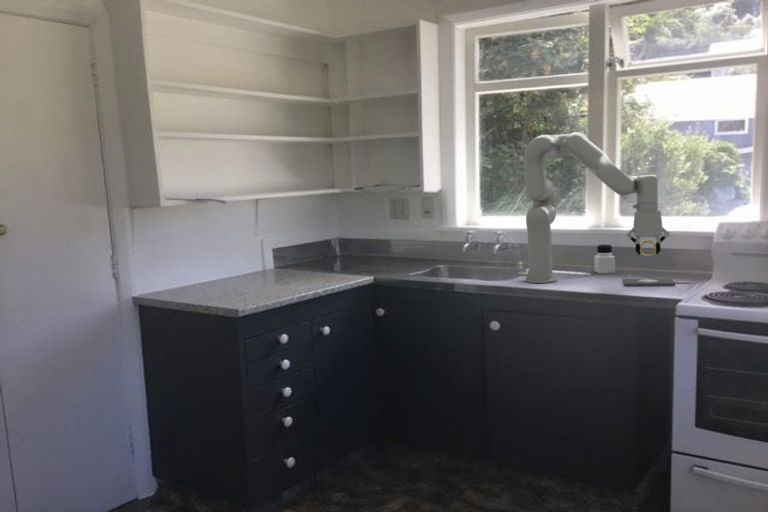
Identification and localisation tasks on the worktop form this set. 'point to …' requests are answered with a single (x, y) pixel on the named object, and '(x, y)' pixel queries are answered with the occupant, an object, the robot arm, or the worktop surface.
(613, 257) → the medicine bottle
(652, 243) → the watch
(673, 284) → the charging pad
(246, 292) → the worktop surface
